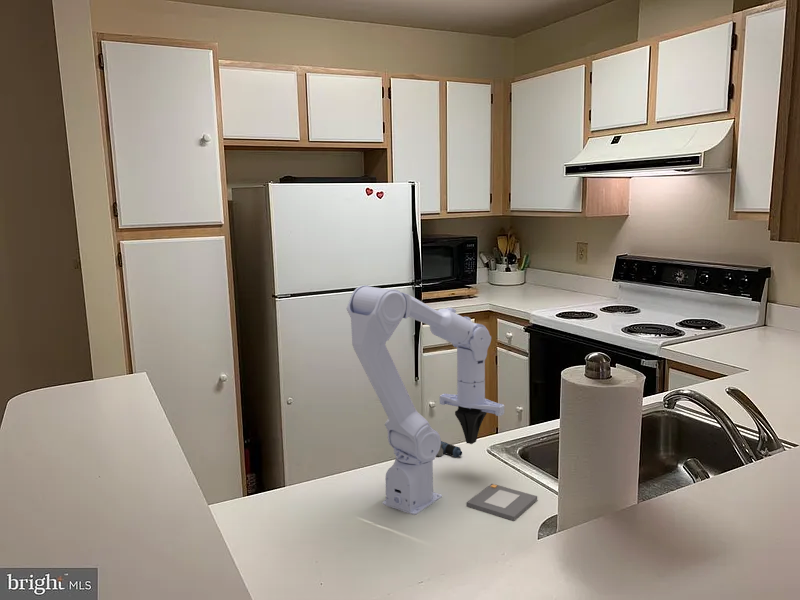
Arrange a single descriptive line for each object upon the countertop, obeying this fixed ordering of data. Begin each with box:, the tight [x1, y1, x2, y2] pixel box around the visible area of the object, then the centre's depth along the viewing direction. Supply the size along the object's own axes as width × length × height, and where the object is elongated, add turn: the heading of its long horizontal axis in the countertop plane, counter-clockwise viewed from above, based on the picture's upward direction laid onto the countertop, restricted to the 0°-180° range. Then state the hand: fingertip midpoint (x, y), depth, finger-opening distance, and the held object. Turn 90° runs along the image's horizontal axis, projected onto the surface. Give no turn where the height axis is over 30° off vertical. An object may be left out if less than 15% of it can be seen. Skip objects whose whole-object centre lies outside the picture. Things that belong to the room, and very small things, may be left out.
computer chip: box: [465, 483, 538, 522], centre depth 120 cm, size 10×10×1 cm
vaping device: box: [435, 440, 463, 458], centre depth 145 cm, size 3×5×12 cm
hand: (471, 442), depth 131 cm, fingers closed
